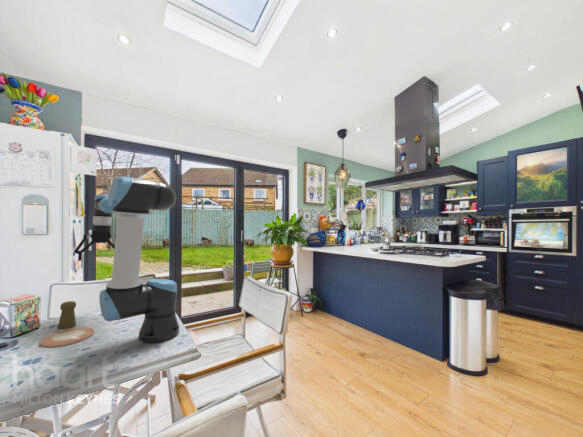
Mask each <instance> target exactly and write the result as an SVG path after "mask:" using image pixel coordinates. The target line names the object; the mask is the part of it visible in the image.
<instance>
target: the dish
mask: <svg viewBox="0 0 583 437" xmlns="http://www.w3.org/2000/svg"><path fill="white" fill-rule="evenodd" d="M94 334H95V330H94V328H92V327H89V326H88V327H87V326H86V327H85V326H84V327H72V328H69V329H63V330H59V331H55V332H53V333H50V334H48V335H46V336H44V337H42V338H41V339H40V341H39V346H41V347H43V348H59V347H64V346H69V345H73V344H74V345H75V344H77V343H79V342H82V341H83V342H84V341H85V340H88V339H90V338H91V337H92V336H94Z"/></svg>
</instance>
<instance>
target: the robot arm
mask: <svg viewBox="0 0 583 437" xmlns="http://www.w3.org/2000/svg"><path fill="white" fill-rule="evenodd" d="M176 202H177V193H176V192H175V190H174V189H173V188H172V187H171V186H170V185H169V184H166V183H164V182H161V181H153V180H148V179H141V178H137V177H129V176H118V177H116V178H114V180H113V181H112V183H111V186H110V187H109V192H108V194H107V195H106V194H96V195H94V200H93V215H92V216H93V217H92V224H93V225H92V233H91V234H87V233H84V235H83V238H82V240H81V241H80V242H79V243H78V245H77V247H76V248H75V249H74V251H73V253H75V254H76V255H78V257H77V260H78V261H80V268H81V269H82V268H84V255H85V254H84V252H86V250H88V249H90V248H91V246H92V245H94V244H95V243H96V244H106V243H107V244H108V245H109V246H110V247H111V248H113V249H114V254H113V263H112V264H113V265H112V266H113V267H112V275H111V276H112V277H111V280H110V281H108V282H107V283H106V286H105V289H103V290H100V292H99V297H98V298H99V307H100V312H101V315H102V318H103V319H104V320H105V321H106V322H114V321H121V320H124V319H129V318H134V317H137V316H141V315H144V318H143V319H144V320H143V322H142V323H141V327H140V329H139V331H138V340H139V341H140V342H142V343H147V344H152V343H161V342H166V341H168V340H171V339H173V338H175V337H176V336H178V334H179V333H180V324H179V322H178V318H177V314H176V310H177V296H178V290H177V289H178V283H177V282H176V281H174V280H171V279H165V278H151V279H147V280H146V282H145V283H144V281H143V280H142V279H141V278H140V268H141V260H142V259H141V255H142V248H143V247H142V246H143V245H142V244H143V237H144V236H143V235H144V225H145V223H144V222H145V218H146V217H147V216H149V215H150V213H151V212H154V211H167V210H170V209H172V208H173V207H174V206H175V205H176ZM113 214H114V215H115V216H116V230H115V234H112V232H111V231H112V226H111V225H112V218H113V217H112V216H113ZM89 238H90V239H92V240H91V241H90V242H89V243H88V244H87V245H85V247H83V248H82V246H83V245H84V243H85V241H86V240H87V239H89ZM110 239H114V240H115V242H114V243H113V242H112V241H110ZM80 248H82V249H81V250H80Z"/></svg>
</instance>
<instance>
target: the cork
mask: <svg viewBox="0 0 583 437" xmlns="http://www.w3.org/2000/svg"><path fill="white" fill-rule="evenodd" d="M76 306H77V303H76V301H73V300H72V301H71V300H70V301H64V302H62V303H61V304H60V307H59V308H60V312H61V313H60V316H59V322H58V325H57V330H59V331H62V330H66V329H72V328H76V326H77V325H76V315H75V314H76V313H75V308H76Z"/></svg>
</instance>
